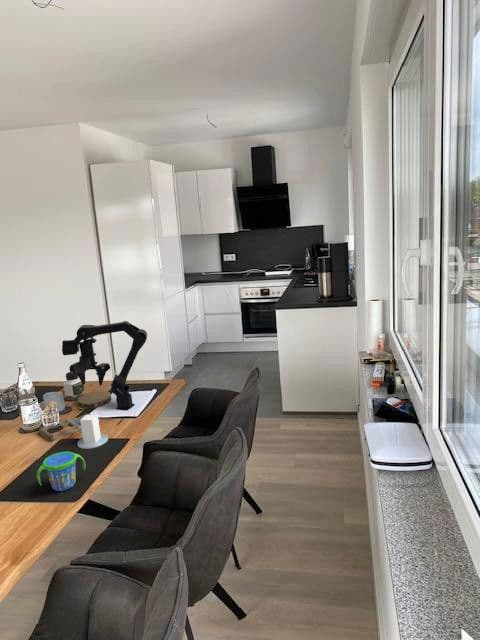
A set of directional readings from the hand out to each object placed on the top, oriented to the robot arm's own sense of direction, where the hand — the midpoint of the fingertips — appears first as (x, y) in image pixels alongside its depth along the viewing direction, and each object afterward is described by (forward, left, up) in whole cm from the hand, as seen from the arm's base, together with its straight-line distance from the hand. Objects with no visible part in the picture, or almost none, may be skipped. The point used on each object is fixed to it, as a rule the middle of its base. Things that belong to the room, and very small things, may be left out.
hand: (92, 385), depth 226 cm
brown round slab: (+8, -10, -14) cm, 19 cm away
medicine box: (+22, +2, -13) cm, 26 cm away
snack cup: (-28, +59, -13) cm, 66 cm away
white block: (-18, +28, -12) cm, 36 cm away
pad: (-18, +28, -13) cm, 36 cm away
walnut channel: (+3, +24, -13) cm, 27 cm away
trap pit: (-3, +13, -13) cm, 19 cm away
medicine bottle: (+26, -18, -13) cm, 34 cm away
